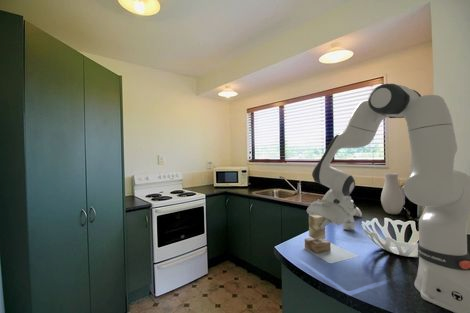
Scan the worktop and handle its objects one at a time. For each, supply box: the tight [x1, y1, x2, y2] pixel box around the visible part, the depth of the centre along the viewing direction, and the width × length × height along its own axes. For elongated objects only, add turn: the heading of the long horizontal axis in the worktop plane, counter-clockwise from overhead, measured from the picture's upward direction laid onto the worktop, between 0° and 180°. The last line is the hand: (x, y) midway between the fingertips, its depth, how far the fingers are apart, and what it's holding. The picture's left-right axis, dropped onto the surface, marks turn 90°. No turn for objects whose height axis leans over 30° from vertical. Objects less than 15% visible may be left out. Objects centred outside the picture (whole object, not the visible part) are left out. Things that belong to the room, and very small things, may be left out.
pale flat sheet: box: [302, 242, 360, 264], centre depth 98 cm, size 18×16×1 cm
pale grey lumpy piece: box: [351, 199, 362, 218], centre depth 157 cm, size 12×11×12 cm
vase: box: [380, 172, 405, 215], centre depth 162 cm, size 14×14×30 cm
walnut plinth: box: [304, 237, 331, 254], centre depth 101 cm, size 8×8×4 cm
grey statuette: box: [341, 195, 356, 231], centre depth 129 cm, size 6×7×20 cm
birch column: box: [308, 214, 326, 240], centre depth 101 cm, size 5×5×10 cm
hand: (315, 225), depth 101 cm, fingers closed on birch column, 5 cm apart
